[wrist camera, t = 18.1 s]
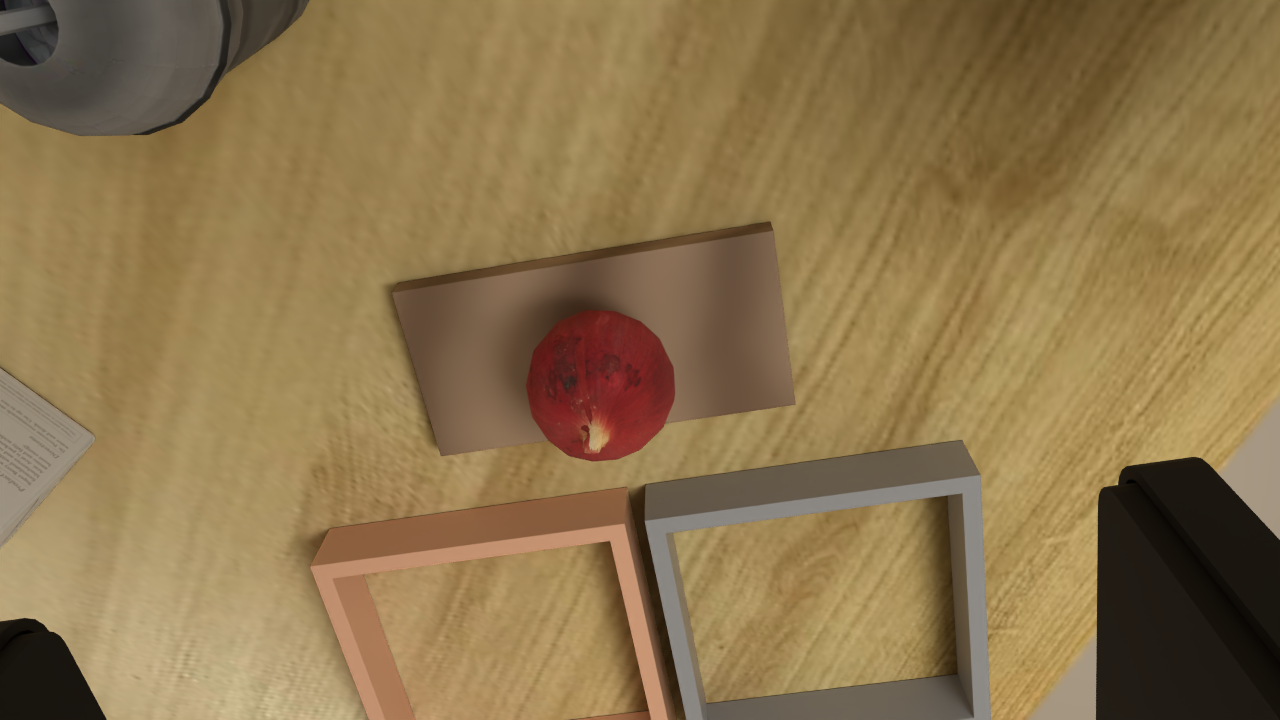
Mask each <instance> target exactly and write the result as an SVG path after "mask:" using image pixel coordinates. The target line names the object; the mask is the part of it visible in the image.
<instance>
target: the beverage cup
mask: <svg viewBox="0 0 1280 720" xmlns="http://www.w3.org/2000/svg"><path fill="white" fill-rule="evenodd" d="M308 2H309V0H0V103H1V104H3V105H4V106H6V107H8V108H9V109H11V110H13V111H14V112H16V113H18V114H19V115H21V116H22V117H24V118H26V119H27V120H29V121H31V122H33V123H37V124H40V125H43V126H47V127H50V128H54V129H57V130H60V131H64V132H67V133H71V134H74V135H78V136H124V135H149V134H152V133H155V132H157V131H160V130H163V129H165V128H168V127H171V126H174V125H176V124H179V123H182V122H183V121H185V120H186V119H187V118H188V117H189V116H190V115H191V114H192V113H194V112H195V111H196V110H197V109H198V108H199V107H200V106H201V105H203V104H204V103H205V102H206V101H207V100H208V99H209V98H210V97H211V95H212V93H213V91H214V89H215V87H216V86H217V85H218V83H219V82H220V81H221V80H222V78H223V77H224V76H225V74H226V73H228V72H229V71H231V70H232V69H233V68H235V67H236V66H238V65H239V64H240V63H242V62H243V61H245V60H246V59H247V58H249V57H250V56H252V55H253V54H255V53H256V52H257V51H259V50H260V49H262V48H263V47H264V46H266V45H267V44H269V43H270V42H271V41H273V40H274V39H276V38H277V37H278V36H279V35H280V34H282V33H283V32H284V31H285V30H286V29H287V28H288V27H289V26H291V25H292V23H293V22H295V21H296V20H297V19H298V18H299V17H300V16H301V15H302V13H303V11H304V9H305V7H306V6H307V4H308Z"/></svg>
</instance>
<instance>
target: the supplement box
mask: <svg viewBox="0 0 1280 720" xmlns="http://www.w3.org/2000/svg"><path fill="white" fill-rule="evenodd" d="M94 441H95V437H94V435H93V434H92V433H90V432H89V431H88V430H86V429H85V428H83V427H82V426H81V425H79V424H78V423H76V422H75V421H73V420H72V419H71V418H69V417H68V416H66V415H65V414H64V413H62V412H61V411H59V410H58V409H57V408H55V407H54V406H53V405H51V404H50V403H48V402H47V401H46V400H44V399H43V398H41V397H40V396H39V395H37V394H36V393H35V392H33V391H32V390H30V389H29V388H28V387H26V386H25V385H23V384H22V383H21V382H19V381H18V380H16V379H15V378H14V377H12V376H11V375H9V374H8V373H7V372H5V371H4V370H2V369H1V368H0V548H1V547H2V546H3V545H4V544H5V543H6V542H7V541H8V540H9V539H10V538H11V537H12V536H13V535H14V534H15V533H16V531H17V530H18V529H19V528H20V527H21V526H22V525H23V523H24V522H25V521H26V520H27V519H28V518H29V516H30V515H31V514H32V513H33V512H34V511H35V510H36V508H37V507H38V506H39V505H40V504H41V503H42V501H43V500H44V499H45V498H46V497H47V496H48V495H49V493H50V492H51V491H52V490H53V489H54V488H55V486H56V485H57V484H58V483H59V482H60V481H61V480H62V478H63V477H64V476H65V475H66V474H67V473H68V472H69V470H70V469H71V468H72V467H73V466H74V465H75V464H76V462H77V461H78V460H79V459H80V458H81V457H82V456H83V454H84V453H85V452H86V451H87V450H88V449H89V447H90V446H91V445H92V444H93V442H94Z"/></svg>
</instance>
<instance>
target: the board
mask: <svg viewBox="0 0 1280 720" xmlns="http://www.w3.org/2000/svg"><path fill="white" fill-rule="evenodd" d="M392 296H393V299H394V302H395V306H396V309H397V312H398V316H399V319H400V322H401V326H402V329H403V332H404V335H405V339H406V342H407V345H408V349H409V352H410V355H411V359H412V362H413V365H414V369H415V372H416V375H417V379H418V382H419V385H420V388H421V392H422V395H423V398H424V402H425V405H426V408H427V412H428V415H429V418H430V422H431V425H432V428H433V432H434V435H435V438H436V441H437V445H438V448H439V451H440V455H441V456H446V455H453V454H460V453H467V452H474V451H481V450H487V449H494V448H501V447H508V446H515V445H522V444H529V443H536V442H542V441H549V440H548V439H547V438H546V437H545V435H544V434H543V432H542V431H541V429H540V428H539V427H538V425H537V424H536V422H535V421H534V419H533V418H532V414H531V410H530V405H529V400H528V394H527V389H526V383H527V377H528V373H529V368H530V364H531V359H532V355H533V350H534V349H535V348H536V347H537V346H538V344H539V343H540V342H541V341H542V340H543V339H544V337H545V336H546V335H547V334H548V333H549V331H550V330H551V329H552V328H553V327H554V325H555V324H556V323H557V322H558V321H561V320H563V319H565V318H568V317H570V316H572V315H575V314H577V313H579V312H582V311H584V310H598V311H616V312H619V313H621V314H624V315H626V316H629V317H631V318H634V319H636V320H639V321H641V322H642V323H643V324H644V325H645V326H647V327H648V328H649V329H650V330H651V331H652V332H653V333H654V334H655V335H656V336H657V337H659V338H660V340H661V342H662V345H663V347H664V349H665V351H666V353H667V355H668V357H669V359H670V361H671V363H672V365H673V367H674V380H675V398H674V403H673V405H672V408H671V410H670V412H669V415H668V417H667V420H666V422H665V424H666V423H673V422H680V421H687V420H694V419H700V418H707V417H714V416H721V415H728V414H735V413H742V412H748V411H755V410H762V409H769V408H776V407H783V406H790V405H796V404H795V396H794V388H793V380H792V372H791V365H790V357H789V349H788V341H787V333H786V325H785V318H784V310H783V302H782V294H781V286H780V279H779V271H778V263H777V255H776V247H775V239H774V232H773V228H772V225H771V222H767V223H761V224H755V225H748V226H742V227H736V228H730V229H724V230H718V231H712V232H706V233H699V234H693V235H687V236H681V237H675V238H669V239H663V240H657V241H650V242H644V243H638V244H632V245H626V246H620V247H614V248H608V249H601V250H595V251H589V252H583V253H577V254H571V255H565V256H559V257H552V258H546V259H540V260H534V261H528V262H522V263H516V264H510V265H503V266H497V267H491V268H485V269H479V270H473V271H467V272H461V273H454V274H448V275H442V276H436V277H430V278H424V279H418V280H412V281H405V282H399V283H398V284H397V286H396V287H395V289H394V290H393V292H392Z"/></svg>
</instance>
